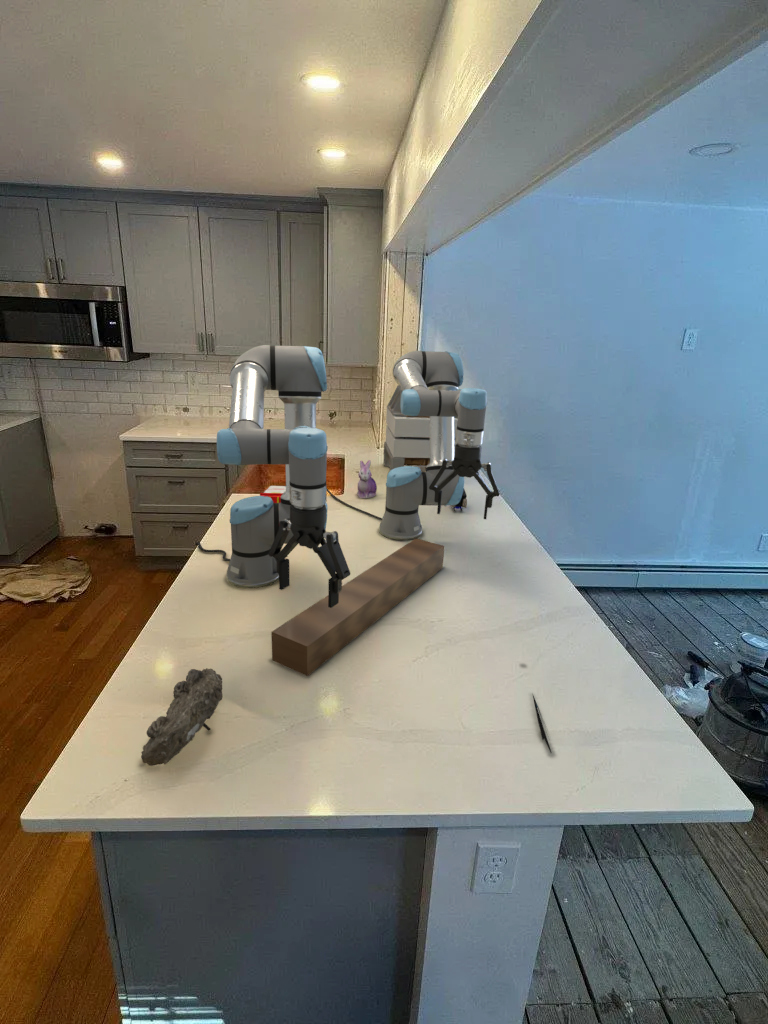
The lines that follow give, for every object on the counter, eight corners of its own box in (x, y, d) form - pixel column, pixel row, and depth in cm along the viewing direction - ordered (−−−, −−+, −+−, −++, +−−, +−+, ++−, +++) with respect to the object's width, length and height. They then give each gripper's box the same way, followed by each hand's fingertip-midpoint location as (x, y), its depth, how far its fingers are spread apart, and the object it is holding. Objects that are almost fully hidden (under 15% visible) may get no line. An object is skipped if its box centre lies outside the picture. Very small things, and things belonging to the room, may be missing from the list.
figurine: (361, 500, 232) (362, 464, 227) (351, 492, 241) (352, 458, 236) (382, 497, 237) (383, 462, 232) (371, 490, 245) (372, 456, 240)
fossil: (171, 669, 114) (224, 637, 109) (205, 700, 117) (257, 670, 112) (115, 759, 95) (175, 724, 90) (157, 793, 97) (218, 762, 92)
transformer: (382, 463, 289) (386, 382, 275) (445, 464, 293) (451, 384, 279) (390, 482, 257) (394, 392, 243) (460, 483, 261) (468, 394, 247)
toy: (300, 481, 221) (289, 494, 192) (300, 514, 224) (289, 533, 194) (268, 480, 221) (253, 493, 191) (269, 514, 223) (254, 532, 194)
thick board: (414, 559, 180) (415, 538, 177) (442, 567, 175) (444, 545, 173) (272, 660, 126) (271, 631, 123) (307, 676, 121) (307, 646, 119)
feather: (523, 669, 129) (529, 663, 128) (551, 758, 102) (558, 750, 101) (517, 665, 128) (523, 659, 128) (543, 753, 102) (550, 746, 101)
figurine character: (467, 516, 223) (461, 500, 237) (469, 499, 220) (463, 483, 233) (450, 516, 223) (446, 499, 236) (452, 498, 220) (447, 483, 233)
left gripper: (250, 496, 120) (253, 586, 127) (347, 522, 108) (345, 620, 115) (274, 488, 126) (276, 574, 133) (368, 512, 114) (365, 605, 121)
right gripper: (423, 443, 158) (418, 514, 166) (513, 451, 154) (504, 524, 162) (426, 438, 165) (421, 506, 173) (513, 445, 161) (504, 515, 168)
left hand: (308, 596), depth 124 cm, fingers open, 13 cm apart
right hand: (461, 515), depth 167 cm, fingers open, 13 cm apart
